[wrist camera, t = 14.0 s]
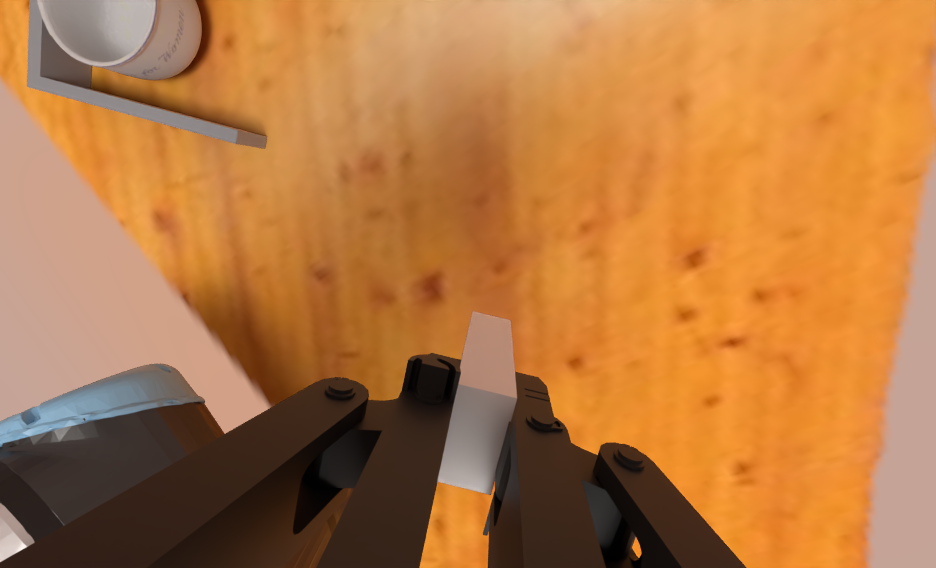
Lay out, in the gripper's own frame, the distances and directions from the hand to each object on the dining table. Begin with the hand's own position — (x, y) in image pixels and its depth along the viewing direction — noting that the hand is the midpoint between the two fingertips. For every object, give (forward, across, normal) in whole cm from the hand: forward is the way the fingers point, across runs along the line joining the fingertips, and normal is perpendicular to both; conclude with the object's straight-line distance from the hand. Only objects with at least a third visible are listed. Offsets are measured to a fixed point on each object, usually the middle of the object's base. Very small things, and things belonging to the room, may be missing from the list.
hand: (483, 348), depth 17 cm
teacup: (+29, +35, -15) cm, 48 cm away
